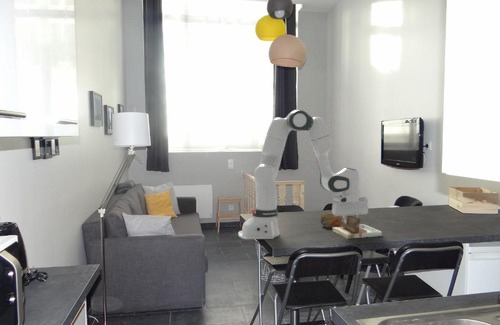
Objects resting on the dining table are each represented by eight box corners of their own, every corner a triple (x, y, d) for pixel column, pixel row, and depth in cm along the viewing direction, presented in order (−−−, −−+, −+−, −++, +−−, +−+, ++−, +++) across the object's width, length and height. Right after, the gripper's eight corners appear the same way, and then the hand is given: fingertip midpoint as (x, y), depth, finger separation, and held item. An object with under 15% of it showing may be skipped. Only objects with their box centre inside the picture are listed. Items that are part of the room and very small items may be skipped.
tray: (362, 237, 185) (362, 233, 185) (344, 229, 203) (344, 225, 203) (382, 236, 188) (382, 231, 188) (363, 228, 206) (363, 224, 206)
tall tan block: (353, 231, 186) (355, 218, 186) (340, 225, 200) (342, 213, 199) (358, 232, 187) (360, 218, 187) (345, 226, 200) (346, 213, 200)
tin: (321, 227, 208) (321, 213, 207) (319, 226, 211) (319, 212, 210) (345, 226, 211) (345, 212, 210) (343, 225, 214) (343, 211, 213)
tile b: (358, 232, 187) (359, 228, 187) (353, 230, 192) (354, 225, 192) (366, 235, 188) (367, 230, 188) (360, 232, 193) (362, 228, 193)
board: (347, 238, 184) (347, 234, 184) (332, 231, 200) (332, 227, 200) (360, 237, 186) (361, 233, 186) (345, 230, 202) (345, 226, 202)
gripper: (364, 195, 198) (364, 220, 199) (330, 197, 193) (330, 222, 194) (370, 197, 192) (370, 223, 193) (336, 199, 187) (336, 225, 188)
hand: (350, 222), depth 193 cm, fingers closed on tall tan block, 3 cm apart
